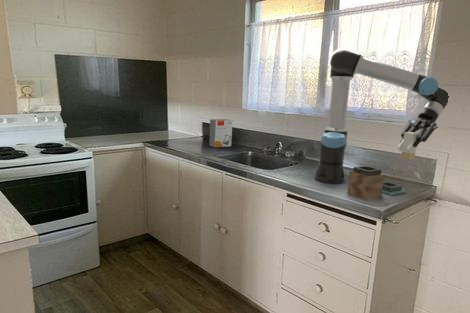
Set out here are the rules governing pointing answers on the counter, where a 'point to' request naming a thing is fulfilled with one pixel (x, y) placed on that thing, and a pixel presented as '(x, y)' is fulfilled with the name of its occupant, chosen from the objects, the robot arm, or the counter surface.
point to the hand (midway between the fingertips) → (403, 150)
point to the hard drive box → (220, 132)
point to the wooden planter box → (366, 182)
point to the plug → (406, 142)
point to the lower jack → (392, 188)
